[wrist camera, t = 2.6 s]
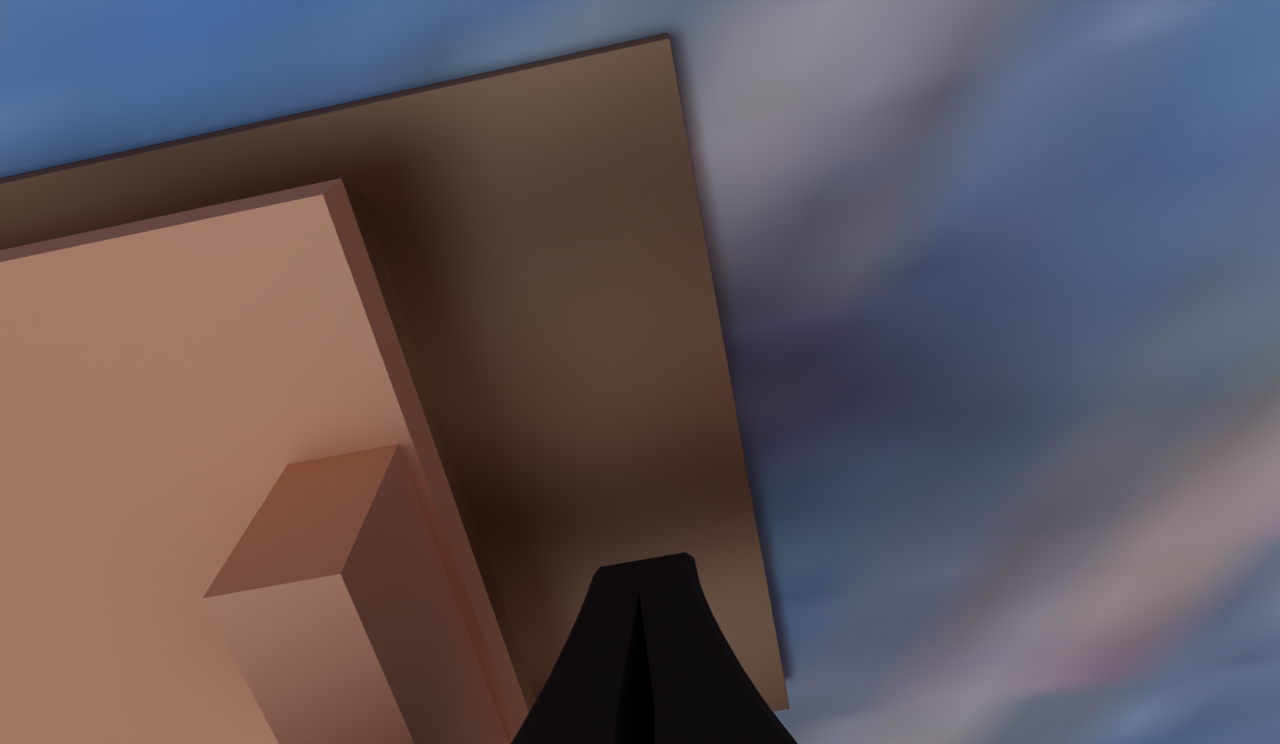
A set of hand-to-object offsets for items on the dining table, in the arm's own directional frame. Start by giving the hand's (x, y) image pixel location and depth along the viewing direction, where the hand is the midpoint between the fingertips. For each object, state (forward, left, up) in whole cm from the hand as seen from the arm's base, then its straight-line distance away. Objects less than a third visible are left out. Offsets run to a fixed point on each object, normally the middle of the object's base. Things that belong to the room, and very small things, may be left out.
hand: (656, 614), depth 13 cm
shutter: (0, +8, -2) cm, 8 cm away
